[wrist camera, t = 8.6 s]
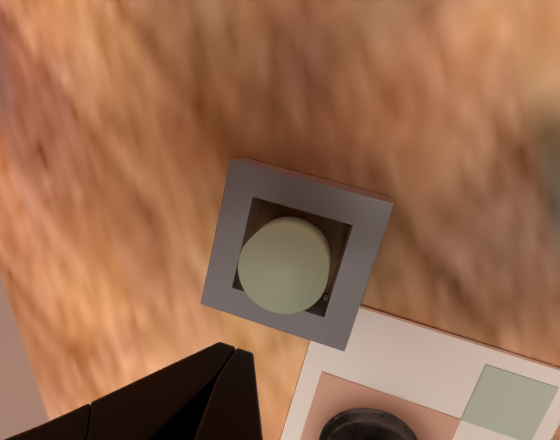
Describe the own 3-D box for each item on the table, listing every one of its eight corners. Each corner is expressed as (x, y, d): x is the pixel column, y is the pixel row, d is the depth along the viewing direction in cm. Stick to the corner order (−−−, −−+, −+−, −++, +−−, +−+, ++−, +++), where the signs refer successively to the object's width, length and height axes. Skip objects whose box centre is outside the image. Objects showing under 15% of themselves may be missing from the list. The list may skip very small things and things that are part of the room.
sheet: (580, 374, 16) (585, 379, 16) (480, 559, 19) (482, 567, 19) (324, 294, 18) (323, 297, 18) (268, 476, 21) (267, 483, 21)
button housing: (389, 196, 16) (394, 204, 14) (345, 329, 18) (344, 351, 16) (244, 157, 17) (230, 159, 15) (215, 287, 19) (200, 303, 17)
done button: (341, 229, 15) (339, 242, 13) (318, 303, 16) (313, 325, 14) (261, 206, 16) (248, 215, 14) (243, 280, 17) (229, 297, 15)
